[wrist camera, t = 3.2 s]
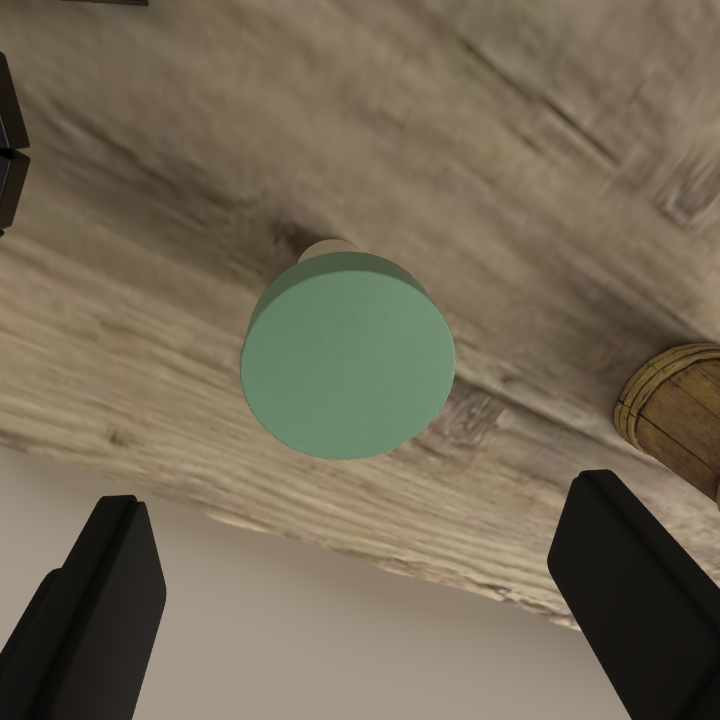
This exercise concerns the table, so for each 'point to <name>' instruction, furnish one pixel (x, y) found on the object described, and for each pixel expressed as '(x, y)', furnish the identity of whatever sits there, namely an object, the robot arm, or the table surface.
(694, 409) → the wooden mug
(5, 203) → the holder
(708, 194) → the table surface
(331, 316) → the canister
